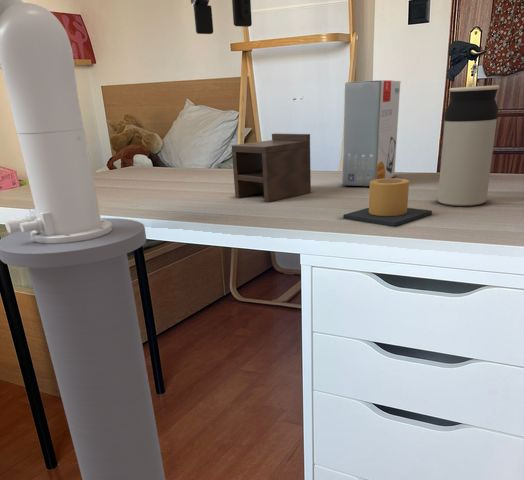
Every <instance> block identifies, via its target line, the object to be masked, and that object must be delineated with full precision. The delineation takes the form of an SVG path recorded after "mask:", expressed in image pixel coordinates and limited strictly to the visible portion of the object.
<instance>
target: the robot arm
mask: <svg viewBox="0 0 524 480" xmlns="http://www.w3.org/2000/svg"><path fill="white" fill-rule="evenodd" d="M209 3H210V0H190V4H191V5H192V6H193V14H194V15H193V16H194V27H195V32H196V34H198V35H213V34H214V22H213V11H212V5H209ZM251 4H252V1H251V0H231V5H232V7H231V8H232V20H233V26H234V27H241V28H250V27H251V26H252V24H253V21H252V20H253V19H252V5H251ZM60 21H61V20H59V19H58V17H57V16H55V15H54V13H52V12H51V11H50V10H48V9H47V8H45V7H44V6H41V5H39V4H37V3H33V2H24V1H23V0H0V69H1V71H2V76H3V80H4V84H5V89H6V93H7V98H8V102H9V107H10V111H11V114H12V119H13V123H14V128H15V132H16V134H17V138H18V143H19V146H20V151H21V155H22V160H23V163H24V167H25V172H26V176H27V180H28V183H29V188H30V193H31V196H32V197H31V198H32V202H33V205H34V208H30V209H28V211H29V214H25V216H24V217H23V218H13V219H8V220H5V222H4V224H5V225H4V226H5V228H6V231H7V233H8V234H13V233H15V232H19V231H22V232H27V231H31V233H30V234H31V238H32V240H33V241H35V242H38V243H45V244H60V243H72V242H79V241H85V240H90V239H94V238H98V237H101V236H104V235H106V234H108V233H110V232H111V231H112V223H111V222H109V221H107V220H101V218H102V217H101V212H100V207H99V201H98V196H97V191H96V186H95V185H96V184H95V181H94V174H93V169H92V163H91V158H90V154H89V147H88V141H87V138H86V133H85V132H86V131H85V128H84V122H83V117H82V112H81V106H80V100H79V93H78V87H77V77H76V68H75V60H74V52H73V48H72V44H71V41H70V38H69V35H68V33H67V30H66V29H65V26H64V25H63V24H62V22H60Z"/></svg>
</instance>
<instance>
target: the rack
mask: <svg viewBox="0 0 524 480" xmlns="http://www.w3.org/2000/svg"><path fill="white" fill-rule="evenodd" d="M231 158H232V169H233V170H232V171H233V172H232V173H233V185H234V197H235V198H238V199H240V198H244V197H249V196H254V195H259V194H263V202H265V203H271V202H274V201H280V200H283V199H289V198H294V197H297V196H301V195H306V194H310V193H311V192H312V185H311V183H312V181H311V177H312V175H311V133H280V132H279V133H278V132H277V133H276V132H275V133H271V139H269V140H262V141H255V142H246V143H240V144H232V145H231Z"/></svg>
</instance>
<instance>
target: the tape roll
mask: <svg viewBox="0 0 524 480" xmlns="http://www.w3.org/2000/svg"><path fill="white" fill-rule="evenodd" d="M409 189H410V180H409V179H406V178H397V177H395V178H394V177H392V178H386V179H376V180H372V181H370V186H369V193H368V194H369V195H368V208H369V213H370V214H372V215H376V216H398V215H403V214H406V213H407V208H408V206H409V205H408V204H409V203H408V202H409Z"/></svg>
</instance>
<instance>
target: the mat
mask: <svg viewBox="0 0 524 480" xmlns="http://www.w3.org/2000/svg"><path fill="white" fill-rule="evenodd" d="M430 215H433V210H429V209H421V208H415V207H414V208H413V207H407V213H406V214H403V215H398V216H376V215H372V214H370V213H369V207H366V208H362V209H358V210H356V211H352V212H351V211H350V212H348V213H344V214H343V215H342V219H346V220H352V221H358V222H364V223H372V224H378V225H384V226H389V227H397V226H400V225H404V224H406V223H410V222H413V221H416V220H419V219H422V218H425V217H427V216H430Z"/></svg>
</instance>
